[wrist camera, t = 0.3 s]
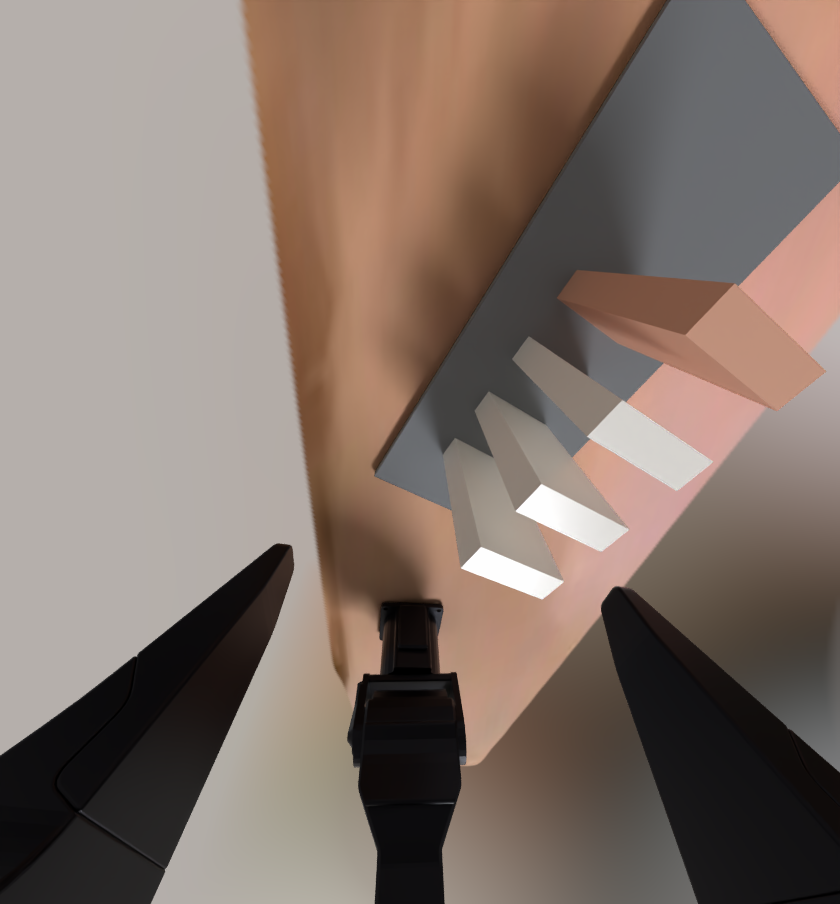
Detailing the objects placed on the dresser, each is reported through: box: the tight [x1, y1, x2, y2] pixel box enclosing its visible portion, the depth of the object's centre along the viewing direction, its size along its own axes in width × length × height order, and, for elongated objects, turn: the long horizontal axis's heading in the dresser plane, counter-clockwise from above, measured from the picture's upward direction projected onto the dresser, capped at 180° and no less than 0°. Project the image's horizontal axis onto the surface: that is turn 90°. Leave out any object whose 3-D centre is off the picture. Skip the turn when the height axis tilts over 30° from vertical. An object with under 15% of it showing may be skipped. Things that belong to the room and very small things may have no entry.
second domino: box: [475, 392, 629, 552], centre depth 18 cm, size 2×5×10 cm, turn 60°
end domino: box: [557, 270, 826, 411], centre depth 14 cm, size 2×5×10 cm, turn 60°
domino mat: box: [374, 0, 840, 510], centre depth 20 cm, size 28×12×1 cm, turn 150°
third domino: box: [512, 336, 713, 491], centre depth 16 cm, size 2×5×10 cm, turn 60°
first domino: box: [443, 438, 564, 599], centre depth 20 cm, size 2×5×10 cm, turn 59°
